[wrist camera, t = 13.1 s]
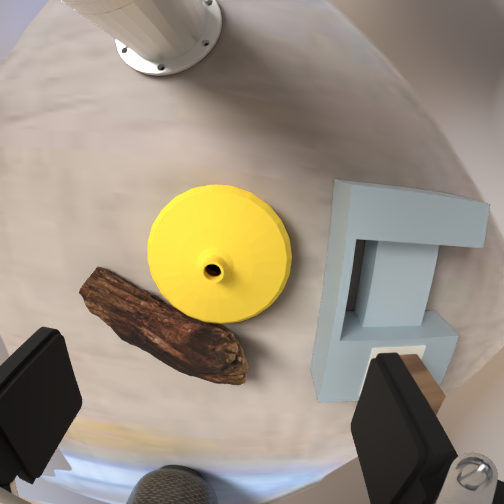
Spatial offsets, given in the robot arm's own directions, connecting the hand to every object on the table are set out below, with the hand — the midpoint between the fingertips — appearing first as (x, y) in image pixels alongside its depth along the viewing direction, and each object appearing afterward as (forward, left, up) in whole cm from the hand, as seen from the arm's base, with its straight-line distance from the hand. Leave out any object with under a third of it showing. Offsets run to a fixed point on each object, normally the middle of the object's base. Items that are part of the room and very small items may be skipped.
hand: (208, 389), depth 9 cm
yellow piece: (+5, -3, -29) cm, 29 cm away
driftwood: (+13, -8, -29) cm, 33 cm away
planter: (+51, -11, -28) cm, 59 cm away
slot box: (+8, +18, -28) cm, 34 cm away
